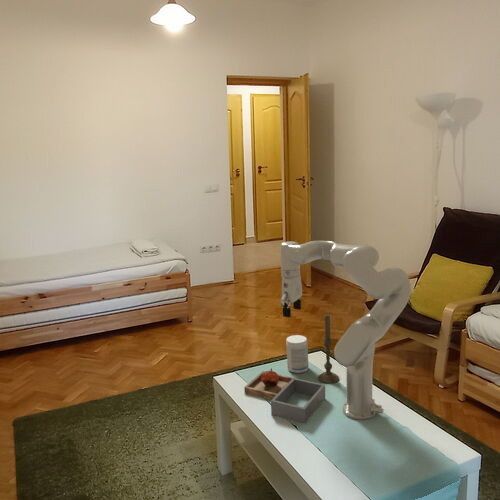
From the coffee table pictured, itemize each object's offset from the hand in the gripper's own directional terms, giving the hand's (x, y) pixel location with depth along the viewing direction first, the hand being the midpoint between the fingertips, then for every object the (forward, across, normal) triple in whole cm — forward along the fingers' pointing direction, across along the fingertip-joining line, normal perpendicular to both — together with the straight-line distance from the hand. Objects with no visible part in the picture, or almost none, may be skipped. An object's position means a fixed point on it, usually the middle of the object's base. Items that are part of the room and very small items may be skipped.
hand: (292, 312), depth 197 cm
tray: (+33, -5, +9) cm, 35 cm away
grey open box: (+33, -13, -8) cm, 37 cm away
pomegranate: (+33, -5, +9) cm, 34 cm away
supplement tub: (+34, +16, +6) cm, 38 cm away
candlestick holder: (+34, +13, -10) cm, 37 cm away
